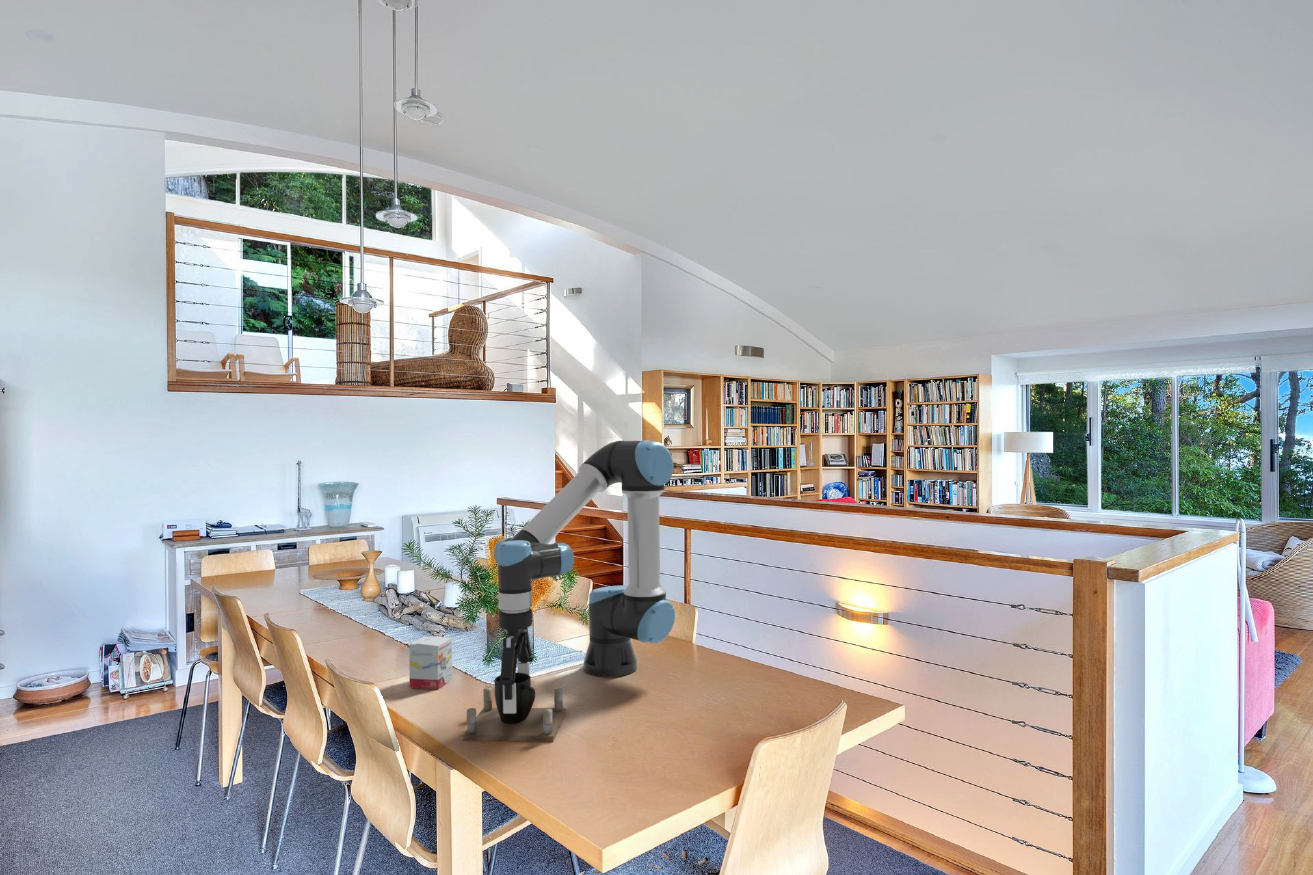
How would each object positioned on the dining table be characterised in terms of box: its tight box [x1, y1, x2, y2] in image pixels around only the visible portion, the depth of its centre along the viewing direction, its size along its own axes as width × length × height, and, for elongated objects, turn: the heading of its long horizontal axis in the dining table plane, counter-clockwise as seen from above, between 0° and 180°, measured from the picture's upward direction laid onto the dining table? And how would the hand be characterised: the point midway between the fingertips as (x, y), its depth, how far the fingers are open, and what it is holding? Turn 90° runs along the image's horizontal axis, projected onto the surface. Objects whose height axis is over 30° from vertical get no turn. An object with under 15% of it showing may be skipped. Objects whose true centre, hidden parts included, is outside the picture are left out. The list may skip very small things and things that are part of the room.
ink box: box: [408, 635, 453, 690], centre depth 198 cm, size 9×9×12 cm
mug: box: [493, 672, 536, 724], centre depth 169 cm, size 8×12×10 cm
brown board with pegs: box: [462, 687, 567, 742], centre depth 169 cm, size 20×16×6 cm
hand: (517, 701), depth 169 cm, fingers open, 13 cm apart
